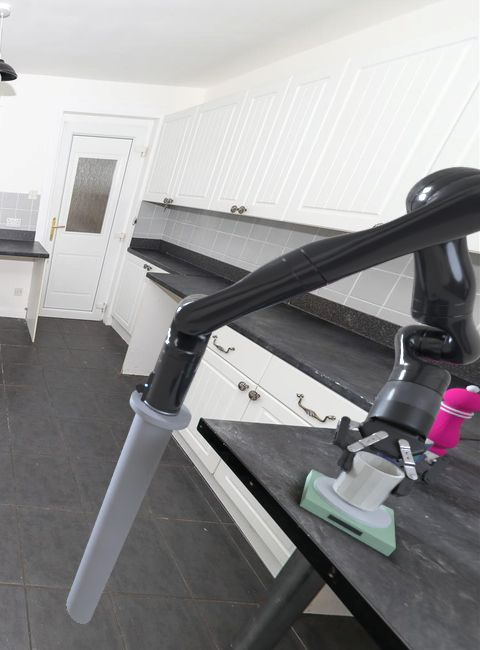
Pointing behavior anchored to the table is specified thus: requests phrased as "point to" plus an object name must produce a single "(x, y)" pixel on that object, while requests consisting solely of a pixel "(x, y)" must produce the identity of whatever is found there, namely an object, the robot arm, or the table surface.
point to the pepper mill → (453, 417)
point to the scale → (349, 514)
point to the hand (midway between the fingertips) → (369, 482)
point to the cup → (368, 481)
